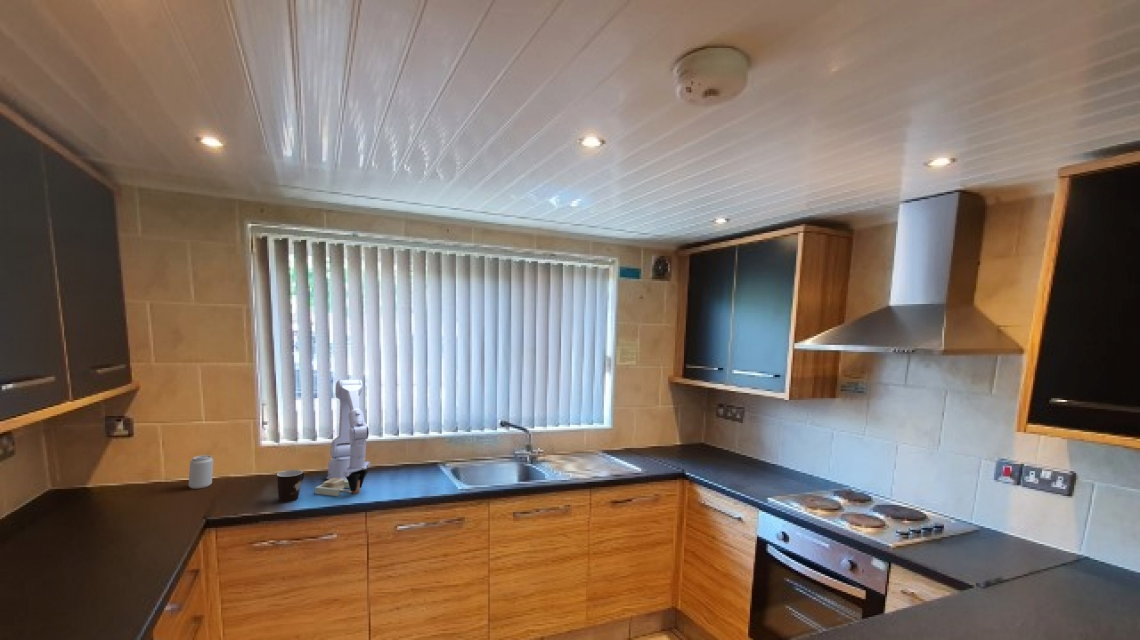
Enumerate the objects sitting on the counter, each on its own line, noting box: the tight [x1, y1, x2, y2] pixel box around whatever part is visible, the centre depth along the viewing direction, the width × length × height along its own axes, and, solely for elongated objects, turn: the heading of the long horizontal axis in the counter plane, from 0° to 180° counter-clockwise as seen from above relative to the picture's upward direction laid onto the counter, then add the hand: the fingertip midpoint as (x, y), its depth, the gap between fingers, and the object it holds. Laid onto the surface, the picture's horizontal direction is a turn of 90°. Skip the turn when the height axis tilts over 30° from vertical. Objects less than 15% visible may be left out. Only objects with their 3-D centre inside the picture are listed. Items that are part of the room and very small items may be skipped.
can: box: [188, 454, 214, 490], centre depth 189 cm, size 8×8×12 cm
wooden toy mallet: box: [322, 478, 361, 495], centre depth 189 cm, size 14×6×5 cm, turn 80°
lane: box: [314, 480, 350, 497], centre depth 190 cm, size 10×11×2 cm
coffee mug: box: [276, 469, 305, 503], centre depth 180 cm, size 12×9×10 cm
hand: (355, 489), depth 188 cm, fingers closed on wooden toy mallet, 3 cm apart
